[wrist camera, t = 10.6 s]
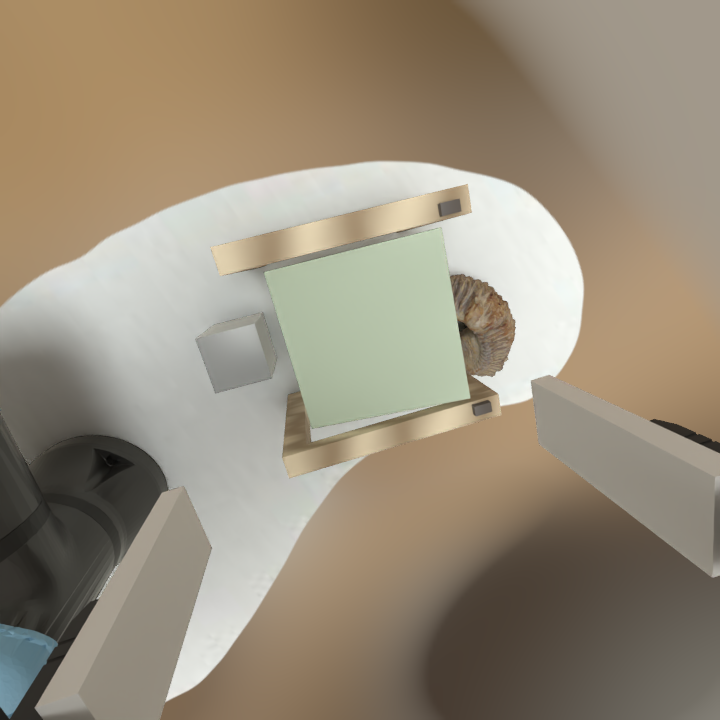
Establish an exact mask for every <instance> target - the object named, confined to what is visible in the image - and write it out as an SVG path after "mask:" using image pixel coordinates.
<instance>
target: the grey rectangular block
mask: <svg viewBox="0 0 720 720" xmlns="http://www.w3.org/2000/svg"><path fill="white" fill-rule="evenodd" d="M195 340H196V342H197V345H198V348H199V350H200V353H201V356H202V358H203V361H204V364H205V366H206V369H207V372H208V374H209V377H210V380H211V383H212V385H213V388H214V391H215V393H219V392H223V391H227V390H230V389H234V388H238V387H241V386H245V385H249V384H252V383H256V382H260V381H263V380H267V379H271V378H272V376H273V372H274V368H275V364H276V360H277V356H276V353H275V350H274V347H273V344H272V340H271V337H270V334H269V331H268V328H267V324H266V321H265V318H264V315H263V312H262V313H258V314H254V315H250V316H246V317H242V318H238V319H234V320H230V321H227V322H223V323H219V324H215V325H213V326H212V327H210V328H209V329H208V330H206V331H205V332H204V333H202V334H201V335H200V336H199V337H197V338H196V339H195Z"/></svg>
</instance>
